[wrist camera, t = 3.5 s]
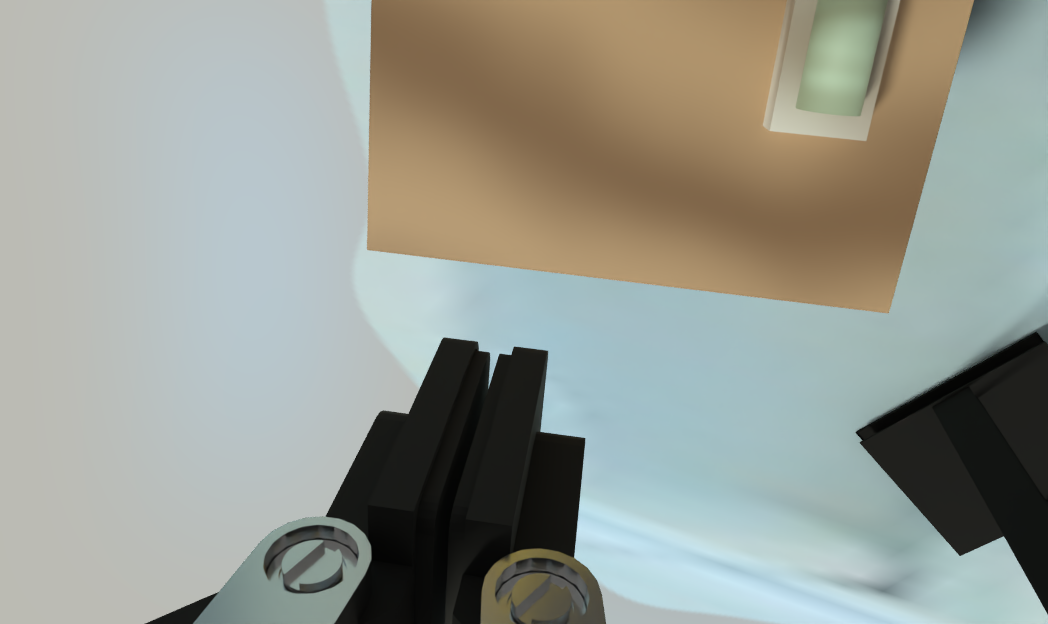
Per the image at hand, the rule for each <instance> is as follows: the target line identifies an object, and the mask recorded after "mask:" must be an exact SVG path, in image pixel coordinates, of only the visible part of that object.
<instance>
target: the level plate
mask: <svg viewBox="0 0 1048 624" xmlns="http://www.w3.org/2000/svg"><path fill="white" fill-rule="evenodd" d="M973 3H974V0H372V6H371V62H370V119H369V175H368V232H367V250H372V251H381V252H389V253H397V254H405V255H413V256H422V257H430V258H438V259H446V260H455V261H463V262H471V263H479V264H487V265H496V266H504V267H512V268H520V269H529V270H537V271H545V272H553V273H561V274H570V275H578V276H586V277H594V278H603V279H611V280H619V281H627V282H636V283H644V284H652V285H660V286H668V287H677V288H685V289H693V290H701V291H710V292H718V293H726V294H734V295H742V296H751V297H759V298H767V299H775V300H784V301H792V302H800V303H808V304H816V305H825V306H833V307H841V308H849V309H858V310H866V311H874V312H882V313H889V310H890V307H891V303H892V299H893V296H894V292H895V288H896V285H897V281H898V277H899V274H900V270H901V266H902V263H903V259H904V255H905V252H906V248H907V244H908V241H909V237H910V233H911V230H912V226H913V222H914V219H915V215H916V211H917V208H918V204H919V200H920V197H921V193H922V189H923V186H924V182H925V178H926V175H927V171H928V168H929V164H930V160H931V157H932V153H933V149H934V146H935V142H936V138H937V135H938V131H939V127H940V124H941V120H942V116H943V113H944V109H945V105H946V102H947V98H948V94H949V91H950V87H951V83H952V80H953V76H954V72H955V69H956V65H957V61H958V58H959V54H960V50H961V47H962V43H963V39H964V36H965V32H966V28H967V25H968V21H969V17H970V14H971V10H972V6H973Z"/></svg>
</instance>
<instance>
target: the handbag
mask: <svg viewBox="0 0 1048 624" xmlns="http://www.w3.org/2000/svg"><path fill="white" fill-rule="evenodd" d="M856 434H857V435H858V436H859V437H860V438H861V439H862V440H863V441H861V442H860V444H861V445H862V446H863V447H864V448H865V449H866V451H867V452H868V453H869V454H870V455H871V456H872V457H873V458H874V460H875V461H876V462H877V463H878V464H879V465H880V466H881V468H882V469H883V470H884V471H885V472H886V473H887V474H888V475H889V477H890V478H891V479H892V480H893V481H894V482H895V483H896V484H897V486H898V487H899V488H900V489H901V490H902V491H903V492H904V493H905V495H906V496H907V497H908V498H909V499H910V500H911V501H912V503H913V504H914V505H915V506H916V507H917V508H918V509H919V510H920V512H921V513H922V514H923V515H924V516H925V517H926V518H927V519H928V521H929V522H930V523H931V524H932V525H933V526H934V527H935V528H936V530H937V531H938V532H939V533H940V534H941V535H942V536H943V537H944V539H945V540H946V541H947V542H948V543H949V544H950V545H951V547H952V548H953V549H954V550H955V551H956V552H957V553H958V554H959V556H961V555H963V554H965V553H968V552H970V551H972V550H974V549H977V548H979V547H981V546H983V545H985V544H988V543H990V542H992V541H994V540H996V539H999V538H1001V537H1003V536H1004V537H1005V539H1006V540H1007V542H1008V544H1009V546H1010V548H1011V549H1012V551H1013V553H1014V555H1015V557H1016V558H1017V560H1018V562H1019V564H1020V565H1021V567H1022V569H1023V571H1024V573H1025V574H1026V576H1027V578H1028V580H1029V582H1030V583H1031V585H1032V587H1033V589H1034V591H1035V592H1036V594H1037V596H1038V598H1039V599H1040V601H1041V603H1042V605H1043V607H1044V608H1045V610H1046V612H1047V614H1048V345H1047V343H1046V342H1045V341H1043V340H1042V338H1041V337H1040V336H1039V334H1038V333H1037V332H1036V333H1034V334H1032V335H1030V336H1029V337H1027V338H1025V339H1023V340H1021V341H1020V342H1018V343H1016V344H1014V345H1012V346H1010V347H1009V348H1007V349H1005V350H1003V351H1001V352H1000V353H998V354H996V355H994V356H992V357H991V358H989V359H987V360H985V361H983V362H982V363H980V364H978V365H976V366H974V367H973V368H971V369H969V370H967V371H965V372H963V373H962V374H960V375H958V376H956V377H954V378H953V379H951V380H949V381H947V382H945V383H944V384H942V385H940V386H938V387H936V388H935V389H933V390H931V391H929V392H927V393H926V394H924V395H922V396H920V397H918V398H917V399H915V400H913V401H911V402H909V403H907V404H906V405H904V406H902V407H900V408H898V409H897V410H895V411H893V412H891V413H889V414H888V415H886V416H884V417H882V418H880V419H879V420H877V421H875V422H873V423H871V424H870V425H868V426H866V427H864V428H862V429H861V430H859V431H857V432H856Z"/></svg>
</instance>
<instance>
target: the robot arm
mask: <svg viewBox="0 0 1048 624" xmlns="http://www.w3.org/2000/svg"><path fill="white" fill-rule="evenodd" d="M547 360H548V351H545V350H537V349H529V348H521V347H514V348H513V351H512V355H505V354H499V357H498V360H497V363H496V367H495V370H494V373H493V376H492V380H491V383H490V386H489V389H488V384H489V368H490V353H489V352H482V351H479V347H478V342H475V341H467V340H459V339H451V338H443V339H442V341H441V343H440V345H439V347H438V350H437V352H436V354H435V356H434V358H433V361H432V363H431V365H430V367H429V370H428V372H427V374H426V376H425V378H424V381H423V383H422V385H421V387H420V390H419V392H418V394H417V396H416V398H415V401H414V403H413V405H412V408H411V410H410V412H409V414H405V413H397V412H390V411H381V412H380V413H379V414H378V416H377V417H376V419H375V421H374V423H373V425H372V427H371V429H370V431H369V433H368V435H367V437H366V438H365V441H364V442H363V444H362V446H361V448H360V450H359V452H358V454H357V456H356V458H355V460H354V462H353V464H352V466H351V468H350V470H349V472H348V474H347V476H346V478H345V480H344V482H343V484H342V485H341V487H340V490H339V491H338V493H337V495H336V497H335V499H334V501H333V503H332V505H331V507H330V509H329V511H328V513H327V515H326V517H310V518H303V519H299V520H296V521H293V522H289V523H287V524H285V525H283V526H281V527H279V528H277V529H275V530H274V531H272V532H271V533H270V534H269V535H267V536H266V537H265V538H264V539H263V540H262V541H261V542H260V543H259V544H258V545H257V547H256V548H255V549H254V550H253V551H252V552H251V554H250V555H249V556H248V557H247V559H246V560H245V561H244V562H243V563H242V565H241V566H240V567H239V568H238V569H237V571H236V572H235V573H234V574H233V576H232V577H231V578H230V579H229V581H228V582H227V583H226V584H225V585H224V587H223V588H222V589H221V590H220V591H219V592H218V593H215V594H213V595H211V596H208V597H206V598H204V599H201V600H199V601H197V602H194V603H192V604H190V605H187V606H185V607H183V608H181V609H178V610H176V611H173V612H171V613H169V614H166V615H164V616H162V617H160V618H157V619H155V620H153V621H150V622H148V623H146V624H606V621H605V614H604V607H603V600H602V594H601V591H600V588H599V585H598V582H597V580H596V578H595V577H594V576H593V575H592V573H591V572H590V571H589V569H588V568H587V567H585V566H584V565H583V564H581V563H580V562H579V561H577V560H576V559H575V558H574V553H575V542H576V532H577V521H578V511H579V501H580V490H581V480H582V469H583V459H584V448H585V438H580V437H573V436H566V435H558V434H551V433H544V432H540V429H541V419H542V409H543V400H544V390H545V380H546V370H547Z"/></svg>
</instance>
